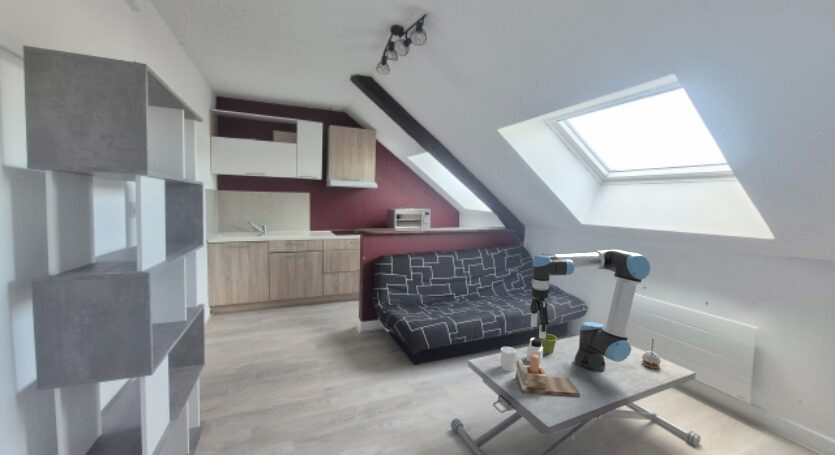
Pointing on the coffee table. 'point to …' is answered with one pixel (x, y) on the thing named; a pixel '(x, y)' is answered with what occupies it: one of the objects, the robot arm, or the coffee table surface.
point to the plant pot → (548, 343)
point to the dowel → (534, 364)
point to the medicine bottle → (535, 349)
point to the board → (552, 386)
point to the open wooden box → (536, 378)
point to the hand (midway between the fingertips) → (537, 332)
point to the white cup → (508, 358)
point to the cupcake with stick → (651, 358)
